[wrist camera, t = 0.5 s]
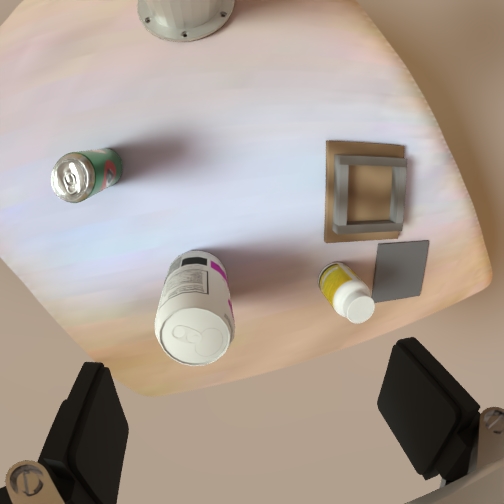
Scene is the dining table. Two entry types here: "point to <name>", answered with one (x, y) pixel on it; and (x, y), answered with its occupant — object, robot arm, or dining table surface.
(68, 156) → the soda can
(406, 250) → the mat
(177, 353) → the supplement can
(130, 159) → the dining table surface
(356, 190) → the block
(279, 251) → the dining table surface
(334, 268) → the supplement bottle
